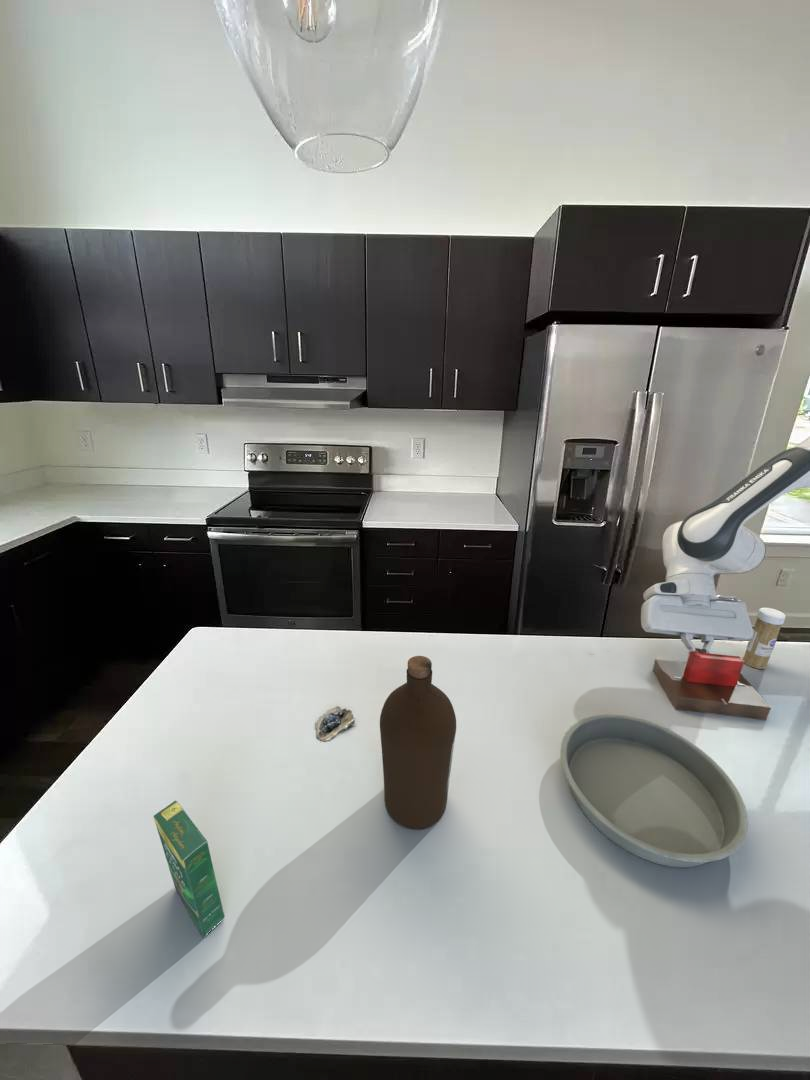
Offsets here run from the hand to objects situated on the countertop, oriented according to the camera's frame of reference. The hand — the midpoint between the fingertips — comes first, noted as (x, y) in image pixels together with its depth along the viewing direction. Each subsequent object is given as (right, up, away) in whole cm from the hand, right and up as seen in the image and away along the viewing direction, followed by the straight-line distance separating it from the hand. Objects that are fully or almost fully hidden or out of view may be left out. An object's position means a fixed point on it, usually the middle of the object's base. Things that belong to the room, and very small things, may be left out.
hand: (699, 658), depth 86 cm
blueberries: (-73, -10, -8) cm, 74 cm away
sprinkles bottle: (+20, -4, +10) cm, 23 cm away
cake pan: (-24, -16, -21) cm, 35 cm away
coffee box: (-85, -20, -35) cm, 94 cm away
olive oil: (-58, -16, -22) cm, 64 cm away
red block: (+2, -5, 0) cm, 5 cm away
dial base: (+2, -7, +1) cm, 8 cm away
